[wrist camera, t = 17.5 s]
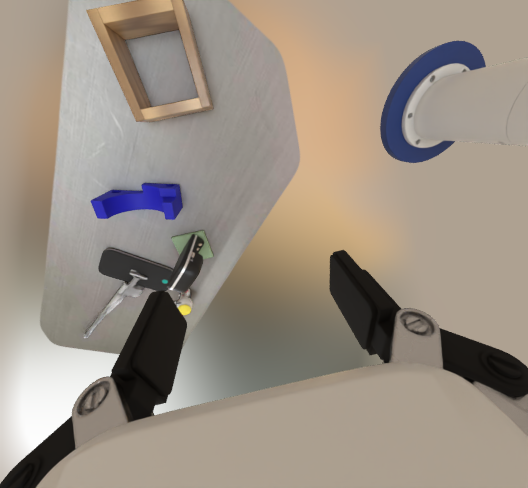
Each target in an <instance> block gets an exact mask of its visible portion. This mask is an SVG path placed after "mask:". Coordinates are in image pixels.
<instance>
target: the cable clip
mask: <svg viewBox="0 0 528 488" xmlns="http://www.w3.org/2000/svg"><path fill="white" fill-rule="evenodd" d="M142 189H143V191H127V190H110V191H108V192H106V193H105V194H103V195H101V196H99V197H97V198H95V199H93V200H91V203H92V206H93V208H94V211H95V213H96V216H97V218H101V219H108V218H109V217H111V216H113V215H116V214H119V213H122V212H126V211H131V210H139V209H152V210H158V211H162V212H164V214H165V219H172V220H175V218H176V217H177V215H178V214H179V212H180V211H181V209H182V208H183V206H182V199H181V192H180V186H179V184H156V183H144V184H142Z"/></svg>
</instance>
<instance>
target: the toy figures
mask: <svg viewBox="0 0 528 488" xmlns="http://www.w3.org/2000/svg"><path fill="white" fill-rule="evenodd" d="M180 298H181V299H180ZM174 303H175V304H176V306H177V308H178V309H179V311H180V312H181V314H182V315H187V314H189V313H190V312H191V309H192V307H193V302H192V300H191V294H190V289H188V290H187V291H186V292H184V293H181V292H180V294H179V300H178V302H177V301H174Z"/></svg>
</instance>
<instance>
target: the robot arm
mask: <svg viewBox="0 0 528 488" xmlns="http://www.w3.org/2000/svg"><path fill="white" fill-rule="evenodd" d="M402 133H403V136H404V138H405V140H406V141H407V143H409V144H410V145H411V146H414V147H418V148H428V147H432V146H435V145H437V144H439V143H441V142H442V141H444V140H445V141H460V142H474V143H489V144H503V145H518V146H528V57H526V58H522V59H518V60H513V61H509V62H505V63H501V64H496V65H492V66H488V67H484V68H479V69H475V70H471V71H470V69H469V68H468V67H466V66H465V65H463V64H458V63H455V64H448V65H445V66H442V67H440V68H437V69H435V70H434V71H432V72H431V73H429V74H428V75H427V76H426V77H425V78H424V79H422V80H421V82H420V83H419V84H418V85H417V86H416V88H415V89H414V91H413V92H412V94H411V95H410V97H409V99H408V101H407V103H406V106H405V109H404V112H403V116H402ZM330 292H331V295H332V296H333V298H334V300H335V302H336V304H337V305H338V307H339V309H340V310H341V312H342V314H343V316H344V318H345V319H346V321H347V323H348V325H349V326H350V328H351V330H352V331H353V333H354V335H355V337H356V338H357V340H358V342H359V344H360V345H361V347H362V348H363V349H367V351H368V353H369V355H373V354H378V355H379V357H380V359H382V360H383V362H382V364H378V365H372V366H366V367H361V368H357V369H352V370H347V371H342V372H337V373H333V374H328V375H324V376H320V377H316V378H311V379H306V380H302V381H298V382H293V383H289V384H285V385H280V386H276V387H272V388H267V389H264V390H259V391H254V392H250V393H246V394H242V395H237V396H233V397H229V398H224V399H220V400H216V401H212V402H208V403H203V404H200V405H195V406H191V407H187V408H183V409H178V410H175V411H170V412H166V413H162V414H159V415H154V413H153V410H154V406H155V405H158V404H163V403H166V401H167V397H168V395H169V394H170V393H171V391H172V387H173V383H174V379H175V374H176V370H177V366H178V362H179V357H180V354H181V349H182V345H183V341H184V337H185V333H186V328H187V322H186V320H185V318H184V317H183V315H182V314H181V312H180V311H179V309H178V308H177V306H176V304H175V303H174V301H173V300H172V298H171V297H170V295H169V293H168V292H165V291H163V290H161V291H156V292H152V293H151V294H150V295H149V297H148V299H147V301H146V303H145V305H144V307H143V309H142V311H141V313H140V315H139V317H138V319H137V321H136V323H135V325H134V327H133V329H132V331H131V333H130V335H129V337H128V339H127V341H126V343H125V345H124V347H123V349H122V351H121V353H120V355H119V357H118V359H117V361H116V363H115V365H114V367H113V369H112V374H111V376H110V377H103V378H100V379H98V380H96V381H95V382H93V383H92V384H90V385H89V386H88V387H87V388H86V389H85V390H84V391H83V392H82V394H81V395H80V396H79V397H78V399H77V401H76V402H75V404H74V407H73V409H72V416H71V417H70V418H69V419H68V420H67V421H66V422H65V423H64V424H62V425H61V426H60V427H59V428H58V429H57V430H56V431H54V433H52V434H51V435H50V436H49V437H48V438H47V439H45V440H44V441H43V442H42V443H41V444H40V445H38V446H37V447H36V448H35V449H34V450H33V451H32V452H31V453H30V454H28V455H27V456H26V457H25V458H24V459H23V460H21V461H20V462H19V463H18V464H17V465H16V466H15V467H14V468H13V469H12V470H11V471H10V472H9V474H8V475H7V476H6V477H5V479H4V480H3V481H2V482H1V484H0V488H528V368H527V366H525V365H524V364H523V363H522V362H520V361H519V360H518V359H517V358H515V357H513V356H512V355H510V354H508V353H506V352H503V351H501V350H499V349H496V348H493V347H491V346H488V345H485V344H482V343H479V342H477V341H474V340H471V339H468V338H466V337H463V336H460V335H457V334H454V333H452V332H449V331H446V330H443V329H440V328H439V325H438V324H437V322H436V321H435V320H434V319H433V318H432V317H431V316H430V315H428V314H426V313H425V312H423V311H420V310H417V309H412V308H404V309H401V308H400V307H399V306H398V305H397V304H396V302H395V301H394V300H393V299H392V298H391V297H390V296H389V295H388V294H387V293H386V292H385V290H384V289H383V288H382V287H381V286H380V285H379V284H378V283H377V282H376V281H375V279H374V278H373V277H372V276H371V275H370V274H369V273H368V272H367V271H366V270H362V269H361V268H360V267H359V266H358V265H357V264H356V263H355V262H354V260H353V259H352V258H351V257H350V256H349V255H348V254H347V252H346V251H344V250H341V251H337V252H334V253H333V255H331V256H330Z"/></svg>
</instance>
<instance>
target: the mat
mask: <svg viewBox="0 0 528 488" xmlns="http://www.w3.org/2000/svg"><path fill="white" fill-rule="evenodd" d="M192 234H194V235H197V236H198V237H200V238H202V239H203V240H204V245H203V247H202V248H201V250H200V251H199V254H200V255H202V256H203V259H206V258H211V257H214V255H213V253H212V250H211V247H210V245H209V242H208V240H207V237H206V235H205V232H204V230H202V231H197V232H192V233H188V234H183V235H179V236H174V237H172V238H171V239H172V241H173V243H174V245H175V247H176V249H177V250H178V252H179V254H181V252H182V250H183V249H184V247H185V245H186V244H187V242H188V240H189V239H190V237H191V235H192Z"/></svg>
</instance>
